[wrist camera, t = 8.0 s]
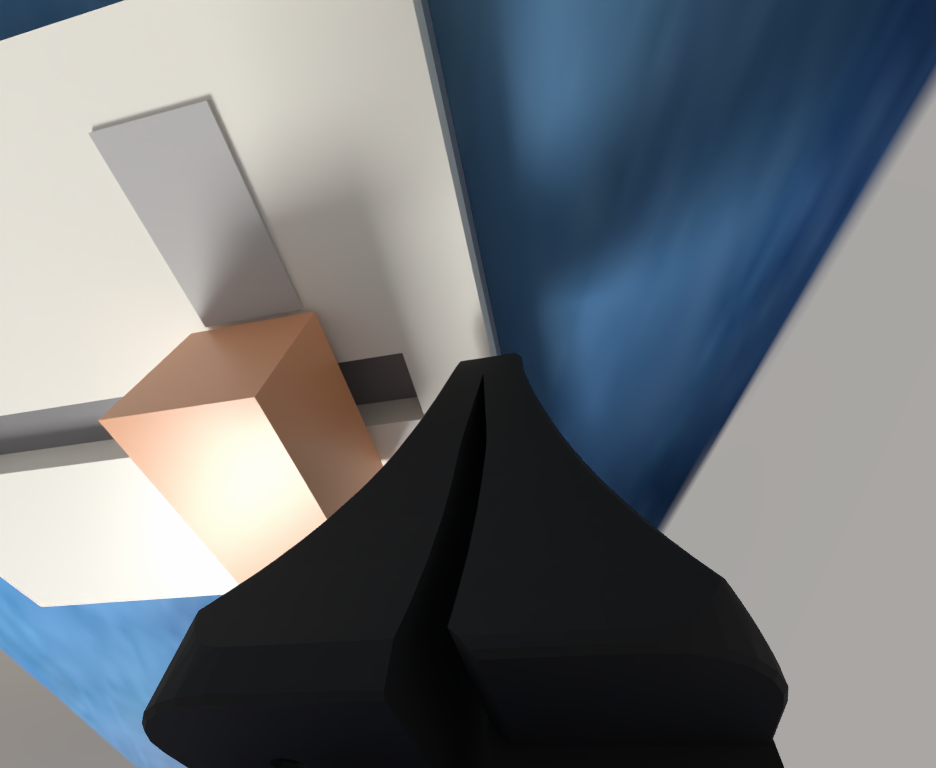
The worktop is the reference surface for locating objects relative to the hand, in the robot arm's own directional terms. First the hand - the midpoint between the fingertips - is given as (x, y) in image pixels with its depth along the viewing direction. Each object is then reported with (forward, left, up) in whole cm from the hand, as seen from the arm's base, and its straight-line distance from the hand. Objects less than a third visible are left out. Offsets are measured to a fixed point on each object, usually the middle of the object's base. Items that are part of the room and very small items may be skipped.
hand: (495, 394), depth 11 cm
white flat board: (0, +10, -3) cm, 10 cm away
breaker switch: (0, +5, -1) cm, 5 cm away
